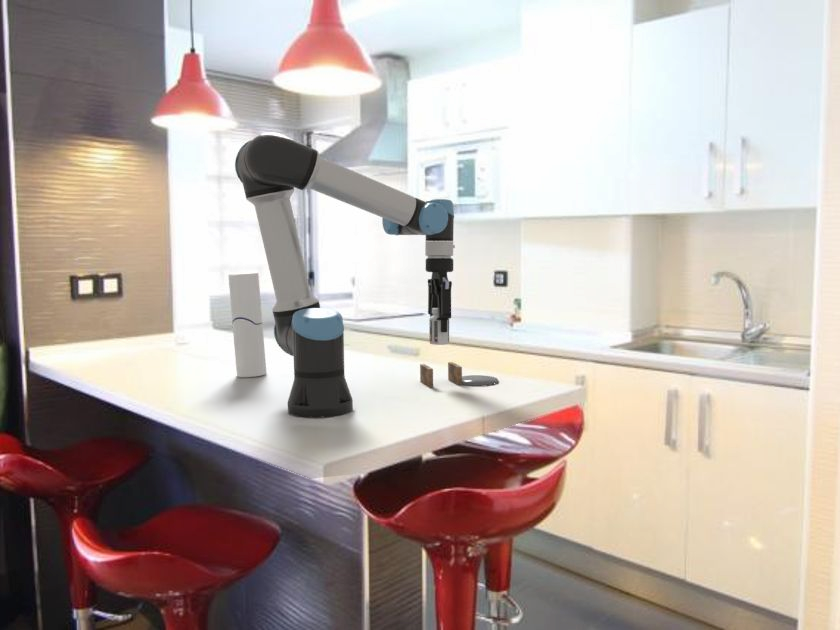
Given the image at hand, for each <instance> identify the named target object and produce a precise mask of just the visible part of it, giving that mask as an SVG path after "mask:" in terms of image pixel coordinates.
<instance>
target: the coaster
mask: <svg viewBox="0 0 840 630" xmlns="http://www.w3.org/2000/svg"><path fill="white" fill-rule="evenodd" d="M497 382H499V379H498V378H497V377H495V376H490V375H481V374H479V375H478V374H477V375H474V374H473V375H472V374H470V375H462V385H461V386H465V385H467V387H483V386H482V385H487V386H490V385H489V384H493V385H495V384H494V383H496V384H498V383H497Z"/></svg>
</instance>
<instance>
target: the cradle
mask: <svg viewBox="0 0 840 630" xmlns="http://www.w3.org/2000/svg"><path fill="white" fill-rule="evenodd" d="M419 365H420V366H419V372H420V373H419V375H420V377H419V379H420V381H419V382H420V383H422V384H423V385H424V386H426V387H427V388H429V389H430V388H431V389H432V388H434V369H433V367H430V366H429V365H427V364H426V363H421V364H419ZM447 374H448V375H447V377H448V379H447V380H448V381H449V382H451V383H453V384H455V385H456V386H463V385H462V376H463V368H462V366H460V365H459V364H457V363H454V362H453V361H451V362H450V361H449V362H447Z"/></svg>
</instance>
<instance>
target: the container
mask: <svg viewBox="0 0 840 630" xmlns="http://www.w3.org/2000/svg"><path fill="white" fill-rule="evenodd" d="M228 286H229V296H230V311H231V321H232V333H233V345H234V346H233V347H234V356H235V367H236V368H235V369H236V377H237V378H254V377H260V376H261V377H262V376H264V375H266V374H267V363H266V362H267V361H266V353H265V351H266V350H265V340H264V339H265V337H264V326H263V325H264V324H263V315H262V314H263V312H262V302H261V290H260V289H261V288H260V276H259V272H249V273H235V274H228Z"/></svg>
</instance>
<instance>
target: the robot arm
mask: <svg viewBox="0 0 840 630" xmlns="http://www.w3.org/2000/svg"><path fill="white" fill-rule="evenodd" d="M234 169H235V173H236V176H237V177H238V179H239V181H240V182H241V183H242V187H243V190H244V194H245V199H246V201H248V202H249V203H251V204H252V205H253V206H254V208H255V213H256V218H257V223H258V226H259V232H260V235H261V239H262V243H263V248H264V253H265V256H266V261H267V265H268V270H269V274H270V279H271V283H272V286H273V287H272V288H273V291H274V295H275V300H276V301H275V302H276V303H275V304H274V306H273V308H272V309H271V310H272V315H273V319H274V327H273V334H274V335H273V336H274V338H275V342H276V343H277V345H278V346H279V348H280V349H282V351H283V352H284V353H286V354H287V355H289V356H291V357H293V369H294V370H293V374H294V375H293V377H294V378H293V379H294V380H293V383H292V385H291V390H290V393H289V397H288V399H287V413H288V414H290V415H291V416H294V417H300V418H329V417H336V416H341V415H344V414H345V415H346V414H347V413H350V412H352V411H353V409H354V404H353V403H354V402H353V401H354V400H353V397H352V395H351V392H350V391H351V390H350V388H349V385H348V383H347V381H346V380H347V379H346V378H345V377H346V376H345V375H346V374H345V342H344V341H345V340H344V338H345V337H344V336H345V335H344V331H345V326H344V325H345V324H344V319H343V316H342V314H341V313H340V312H339V311H336V310H334V309H328V308H324V307H321V305H320V301H319V298H317V297H316V296H314V295H313V294H312V292H311V289H310V284H309V283H310V282H309V279H308V275H307V271H306V270H307V269H306V266H305V265H306V264H305V261H304V257H303V251H302V247H301V243H300V238H299V234H298V229H297V224H296V220H295V216H294V215H295V214H294V212H293V207H292V202H291V197H292V195H293V193H294V192H295V189H297V190H300V191H305V190H308V189H310V190H313V191H315V192H318V193H320V194H322V195H325V196H328V197H330V198H333V199H335V200H337V201H340V202H342V203H345V204H348V205H350V206H353V207H356V208H358V209H359V210H362V211H365V212H367V213H369V214H372V215H376V216H378V217H381V218H382V221H381V223H382V228H383V230H384V232H385V233H386V234H387V235H392V236H425V242H424V244H425V249H424V250H425V251H424V252H425V254H424V255H425V256H426V258H425V271H426V272H427V273H431V278H429V279H428V278H427V287H428V288H427V289H428V291H427V293H428V296H427V297H428V298H427V302H428V303H427V310H428V311H427V314H428V315H429V316H430V317H431V316H433V314H432V308H438V312H439V318H437V319H436V320H438V345H439V346H440V344H445V345H448V344H449V343H448V320H449V321H450V319H452V286H453V282H452V280H449V278H448V273H452V272H453V271H454V259H453V258H452V257H453V256H454V249H455V248H456V245H455V244H454V225H455V223H454V222H455V221H454V219H455V214H454V213H455V212H454V211H455V210H454V209H455V208H454V203H453V201H452V200H450V199H447V198H445V199H444V198H443V199H441V198H440V199H438V198H435V199H434V198H433V199H427V200H426V201H425V200H422V199H420V198H417V197H415V196H413V195H410V194H408V193H405V192H403V191H400V190H399V189H396V188H394V187H391V186H390V185H387V184H386V183H382V182H380V181H378V180H375V179H373V178H371V177H368V176H366V175H363V174H361V173H359V172H357V171H355V170H353V169H349V168H348V167H345V166H343V165H340V164H339V163H336V162H334V161H331V160H329V159H327V158H324V157H321V155H320V152H319V151H318V150H317V149H314V148H313V147H310V146H308V145H305V144H304V143H302V142H300V141H297V140H295V139H293V138H290V137H289V136H286V135H284V134H280V133H278V132H264V133H261V134H258V135H257V136H255V137H254V138H253V139H250V140H248V141H246V142H245V143H244V144H243V145H242V146H241V147H240V149H239V150H238V151H237V153H236V158H235V161H234ZM430 317H429V318H430Z"/></svg>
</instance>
